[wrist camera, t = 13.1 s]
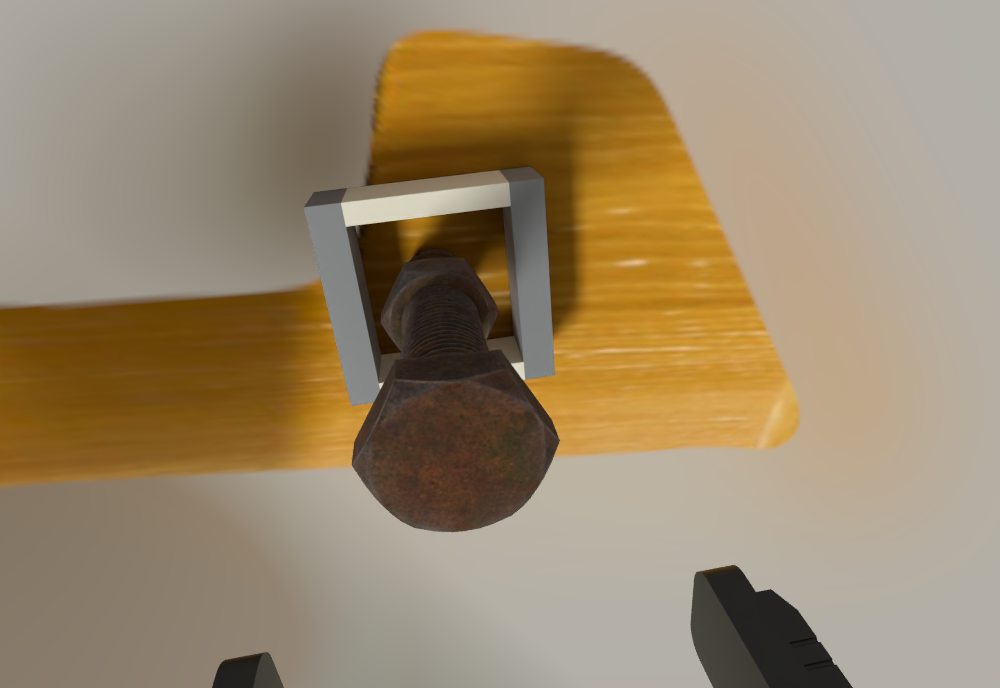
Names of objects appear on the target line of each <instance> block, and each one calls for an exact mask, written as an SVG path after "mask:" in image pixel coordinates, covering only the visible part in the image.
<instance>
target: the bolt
mask: <svg viewBox="0 0 1000 688" xmlns="http://www.w3.org/2000/svg"><path fill="white" fill-rule="evenodd" d="M498 313H499V311H498V309H497V306H496V303H495V301H494V300H493V298H492V297H491V295H490V293H489V292H488V290H487V289H486V287H485V286H484V284H483V283H482V281H481V280H480V278H479V277H478V276H477V274H476V273H475V271H474V270H473V269H472V267H471V266H470V265H469V264H468V262H467V261H466V260H465V259H464V258H457V257H455V256H454V255H453V254H451V253H450V252H448V251H445V250H442V249H429V250H425V251H422V254H420V255H419V256H417V255H415V256H414V257H413V258H412V259H411V260H410V261H409V262H406V263H405V264H404V265H403V267H402V269H401V271H400V273H399V275H398V277H397V279H396V281H395V283H394V285H393V287H392V289H391V291H390V293H389V296H388V298H387V300H386V303H385V305H384V308H383V310H382V312H381V324H382V326H383V327H384V329H385V330H386V332H387V333H388V335H389V336H390V338H391V339H392V340H393V342H394V343H395V344H396V346H397V347H398V348H399V349H400V350H401V359H397V360H395V361H394V363H393V365H392V367H391V369H390V371H389V373H388V375H387V377H386V379H385V381H384V383H383V385H382V387H381V389H380V391H379V393H378V395H377V397H376V399H375V401H374V403H373V405H372V407H371V409H370V411H369V413H368V415H367V417H366V419H365V421H364V423H363V425H362V427H361V429H360V431H359V433H358V435H357V437H356V439H355V441H354V449H353V457H352V466H353V468H354V469H355V471H356V472H357V474H358V475H359V477H360V478H361V480H362V481H363V483H364V484H365V485H366V487H367V488H368V489H369V491H370V492H371V493H372V494H373V496H374V497H375V498H376V499H377V500H378V501H379V502H380V503H381V504H382V505H383V506H384V507H385V508H386V509H387V510H388V511H389V512H390V513H391V514H392V515H394V516H395V517H396V518H398V519H399V520H400V521H402V522H404V523H406V524H408V525H410V526H412V527H414V528H418V529H424V530H430V531H439V532H458V531H467V530H473V529H478V528H482V527H484V526H488V525H491V524H494V523H496V522H498V521H500V520H503V519H505V518H507V517H509V516H512V515H513V514H514V513H515V512H517V511H518V510H519V509H520V508H521V507H522V506H524V504H525V503H526V502H527V501H528V500H529V499H530V498H531V496H532V495H533V493H534V492H535V491H536V489H537V488H538V486H539V485H540V483H541V481H542V480H543V478H544V477H545V474H546V472H547V470H548V468H549V466H550V464H551V462H552V460H553V457H554V454H555V452H556V449H557V447H558V444H559V441H560V440H559V438H558V435H557V432H556V430H555V427H554V425H553V422H552V420H551V418H550V417H549V415H548V414H547V413H546V411H545V410H544V408H543V407H542V406H541V404H540V403H539V402H538V400H537V399H536V397H535V396H534V395H533V393H532V392H531V391H530V389H529V388H528V386H527V385H526V384H525V382H524V381H523V380H522V378H521V377H520V375H519V374H518V373H517V371H516V370H515V369H514V367H513V366H512V364H511V363H510V362H509V360H508V359H507V358H506V356H505V355H504V353H503V352H502V351H501V349H500V350H490V351H489V349H488V346H487V343H486V340H487V338H488V336H489V333H490V331H491V329H492V327H493V325H494V323H495V320H496V318H497V315H498Z"/></svg>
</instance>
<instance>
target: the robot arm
mask: <svg viewBox="0 0 1000 688" xmlns="http://www.w3.org/2000/svg"><path fill="white" fill-rule="evenodd" d="M691 633H692V638H693V642H694V646H695V649H696V652H697V654H698V657H699V659H700V661H701V663H702V665H703V667H704V669H705V672H706V673H707V676H708V678H709V680H710V682H711V684H712V686H713V687H714V688H853V687H852V686H851V685H850V683H849V682H848V680H847V679H846V678H845V676H844V675H843V673H842V672H841V671H840V669H839V668H838V666H837V665H834V663H833V661H832V658H831V657H830V655H829V654H828V652H827V651H826V649H825V648H824V647H823V645H822V644H821V642H818V641H817V637H816V635H815V634H814V633H813V631H812V630H811V628H810V627H809V626H808V624H807V623H806V621H805V620H804V618H803V617H802V616H801V614H800V613H799V611H798V610H797V609H795V608H794V607H793V606H792V605H790V604H789V603H788V602H787V601H785V600H784V599H783V598H781V597H780V596H779V595H778V594H776V593H775V592H774V591H773V590H771V589H770V590H765V591H760V592H755V590H754V589H753V587H752V585H751V584H750V582H749V581H748V579H747V578H746V576H745V575H744V573H743V572H742V571H741V570H740V569H739V568H738V567H737V566H735V565H731V566H726V567H720V568H715V569H710V570H705V571H700V572H696V574H695V577H694V588H693V600H692V613H691ZM212 688H284V687H283V684H282V682H281V680H280V677H279V675H278V672H277V670H276V667H275V665H274V662H273V660H272V657H271V655H270V654H269V653H268V652H265V653H259V654H254V655H249V656H244V657H238V658H233V659H228V660H224V661H223V662H222V663H221V664H220V666H219V668H218V670H217V673H216V676H215V680H214V683H213V686H212Z"/></svg>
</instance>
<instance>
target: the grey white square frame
mask: <svg viewBox="0 0 1000 688" xmlns="http://www.w3.org/2000/svg"><path fill="white" fill-rule="evenodd" d="M500 207H502V210H503V221H504V232H505V243H506V254H507V266H508V277H509V288H510V299H511V311H512V322H513V333H514V336H509V337H502V338H496V339H489V340H486V343H487V346H488V349H489V351H490V350H500V349H501V351H502V352H503V353H504V355H505V356H506V358H507V359H508V360H509V362H510V363H511V364H512V366H513V367H514V369H515V370H516V371H517V373H518V374H519V375H520V377H521V378H522V380H527V379H533V378H540V377H546V376H553V375H555V367H554V349H553V332H552V314H551V296H550V278H549V261H548V243H547V225H546V208H545V190H544V178H543V177H542V176H541V175H540V174H539V173H537V172H536V171H535V170H534V169H533V168H532V167H531V166H530V167H521V168H513V169H505V170H496V171H488V172H479V173H471V174H463V175H454V176H446V177H438V178H429V179H421V180H412V181H404V182H396V183H387V184H379V185H371V186H362V187H354V188H345V189H338V190H329V191H320V192H314V193H313V194H312V196H311V198H310V199H309V200H308V202H307V203H306V205H305V206H304V210H305V215H306V219H307V223H308V227H309V231H310V235H311V240H312V244H313V248H314V252H315V256H316V261H317V265H318V269H319V273H320V277H321V282H322V286H323V290H324V294H325V298H326V303H327V307H328V311H329V315H330V319H331V323H332V328H333V332H334V336H335V340H336V344H337V349H338V353H339V357H340V361H341V365H342V369H343V374H344V378H345V382H346V386H347V390H348V395H349V399H350V403H351V406H354V405H360V404H367V403H374V401H375V399H376V397H377V395H378V393H379V391H380V389H381V387H382V385H383V383H384V381H385V379H386V377H387V375H388V373H389V371H390V369H391V367H392V365H393V363H394V361H395V360H397V359H401V352H398V353H391V354H384V355H381V352H380V347H379V342H378V337H377V332H376V327H375V322H374V317H373V312H372V307H371V302H370V297H369V293H368V288H367V283H366V278H365V273H364V268H363V263H362V258H361V253H360V248H359V243H358V238H357V234H356V229H355V226H356V225H364V224H372V223H380V222H388V221H396V220H404V219H412V218H420V217H428V216H436V215H444V214H452V213H460V212H468V211H476V210H484V209H492V208H500Z"/></svg>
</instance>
